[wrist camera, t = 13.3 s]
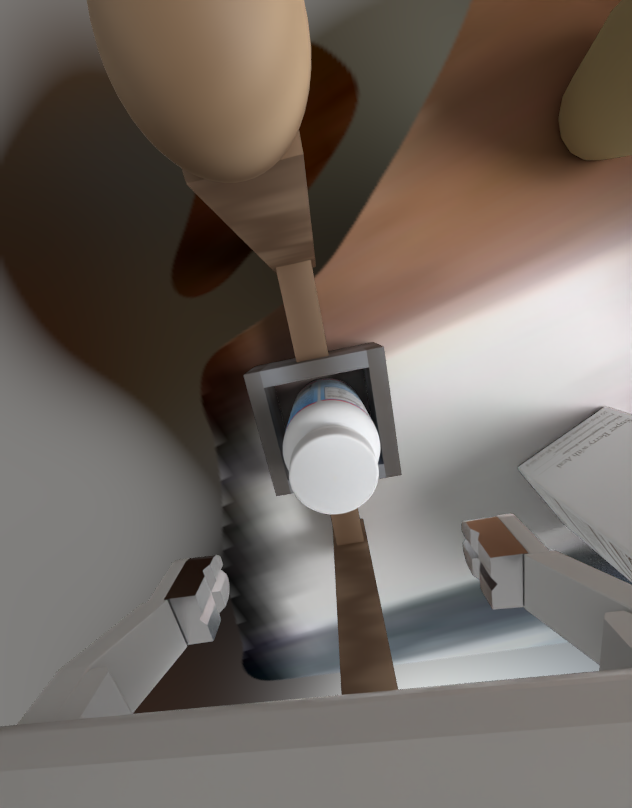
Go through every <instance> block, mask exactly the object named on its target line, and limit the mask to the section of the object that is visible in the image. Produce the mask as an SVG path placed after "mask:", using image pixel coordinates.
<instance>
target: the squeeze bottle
mask: <svg viewBox="0 0 632 808" xmlns="http://www.w3.org/2000/svg"><path fill="white" fill-rule="evenodd" d="M558 120H559V127H560V134H561V139H562V140H563V142H564V143H565V145H566V146H567V148H568V150H569V151H570V153H572V154H574V155H576V156H578V157H580V158H581V159H583V160H606V159H612V158H618V157H625V156H631V155H632V0H622V1H621V2H620V3H619V4H618V5H617V6H616V7H615V8H614V9H613V10H612V11H611V13H610V15H609V16H608V18H607V20H606V21H605V23H604V25H603V27H602V28H601V30H600V32H599V33H598V35H597V37H596V39H595V40H594V42H593V44H592V45H591V47H590V49H589V50H588V52H587V54H586V56H585V57H584V59H583V61H582V62H581V64H580V66H579V68H578V69H577V71H576V73H575V74H574V76H573V78H572V80H571V82H570V84H569V86H568V87H567V89H566V91H565V93H564V95H563V97H562V102H561V107H560V112H559V118H558Z"/></svg>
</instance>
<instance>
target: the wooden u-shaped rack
mask: <svg viewBox="0 0 632 808" xmlns="http://www.w3.org/2000/svg"><path fill="white" fill-rule="evenodd" d="M87 4H88V10H89V16H90V21H91V25H92V28H93V32H94V36H95V40H96V44H97V47H98V51H99V53H100V56H101V59H102V62H103V64H104V67H105V69H106V72H107V74H108V76H109V78H110V80H111V83H112V85H113V87H114V89H115V91H116V93H117V95H118V97H119V98H120V100H121V102H122V103H123V105H124V106H125V108H126V110H127V112H128V113H129V115H130V117H131V118H132V120H133V121H134V122H135V124H136V125H137V126H138V127H139V129H140V130H141V131H142V132H143V134H144V135H145V136H146V137H147V139H148V140H149V141H150V142H151V143H152V144H153V145H154V146H155V147H156V148H157V149H158V150H159V151H160V152H162V153H163V154H164V155H165V156H166V157H167V158H169V159H170V160H171V161H172V162H174V163H175V164H176V165H178V166H180V167H181V168H182V170H183V174H184V178H185V181H186V184H187V185H188V186H189V187H190V188H191V189H192V190H193V191H194V192H195V193H196V194H197V195H198V196H199V197H200V198H201V199H202V200H203V201H204V202H205V203H206V204H207V205H208V206H209V207H210V208H211V209H212V210H213V211H214V212H215V213H216V214H217V215H218V216H219V217H220V218H221V219H222V220H223V221H224V222H225V223H226V224H227V225H228V226H229V227H230V228H231V229H232V230H233V231H234V232H235V233H236V234H237V235H238V236H239V237H240V238H241V239H242V240H243V241H244V242H245V243H246V244H247V245H248V246H249V247H250V248H251V249H252V250H253V251H254V252H255V253H256V254H257V255H258V256H259V257H260V258H261V259H262V260H263V261H264V262H265V263H266V264H267V265H268V266H269V267H270V268H271V269H272V270H273V271H274V272H275V273H276V274H277V276H278V280H279V285H280V289H281V294H282V298H283V303H284V308H285V312H286V317H287V321H288V326H289V330H290V335H291V339H292V344H293V348H294V353H295V357H296V358H294V359H289V360H284V361H279V362H274V363H269V364H264V365H259V366H255V367H254V368H252V369H251V370H249V371H248V372H247V373H245V374H244V375H243V376H244V380H245V383H246V387H247V391H248V394H249V398H250V402H251V405H252V409H253V413H254V416H255V420H256V424H257V427H258V431H259V434H260V438H261V442H262V445H263V449H264V453H265V456H266V460H267V464H268V467H269V471H270V475H271V478H272V482H273V486H274V489H275V493H276V496H280V495H286V494H292V493H294V492H293V490H292V488H291V485H290V481H289V470H288V469H287V467H286V464H285V461H284V457H283V440H284V435H285V431H286V429H285V425H284V421H283V417H282V413H281V409H280V405H279V401H278V397H277V393H276V389H275V386H276V385H281V384H286V383H291V382H296V381H301V380H307V379H312V378H317V377H322V376H327V375H332V374H337V373H342V372H347V371H352V370H357V369H362V368H363V372H364V378H365V384H366V390H367V397H368V403H369V409H370V415H371V420H372V421H373V423H374V425H375V427H376V430H377V432H378V435H379V439H380V456H379V461H378V469H379V477H378V479H381V478H387V477H392V476H398V475H401V468H400V461H399V453H398V446H397V439H396V432H395V424H394V417H393V410H392V403H391V396H390V388H389V381H388V374H387V367H386V359H385V352H384V347H383V346H381V345H379V344H377V343H374V342H373V343H368V344H363V345H358V346H353V347H348V348H343V349H338V350H333V351H328V349H327V344H326V338H325V333H324V328H323V323H322V317H321V312H320V307H319V302H318V296H317V291H316V286H315V280H314V275H313V270H312V267H315V266H316V263H315V255H314V246H313V238H312V228H311V219H310V211H309V201H308V192H307V183H306V174H305V165H304V156H303V150H302V144H301V139H300V133H299V127H300V125H301V122H302V119H303V115H304V112H305V108H306V103H307V98H308V93H309V86H310V76H311V44H310V35H309V26H308V19H307V13H306V8H305V4H304V0H87ZM330 516H331V520H332V525H333V541H334V560H335V579H336V597H337V616H338V635H339V654H340V673H341V691H342V695H346V694H357V693H368V692H379V691H389V690H398V687H397V683H396V677H395V672H394V668H393V662H392V657H391V653H390V648H389V643H388V638H387V633H386V628H385V624H384V619H383V614H382V609H381V604H380V599H379V594H378V590H377V585H376V580H375V575H374V570H373V565H372V560H371V556H370V551H369V546H368V541H367V536H366V531H365V527H364V522H363V519H360V517H359V512H358V508H356V509H355V510H352V511H350V512H347V513H343V514H330Z"/></svg>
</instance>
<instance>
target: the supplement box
mask: <svg viewBox="0 0 632 808" xmlns="http://www.w3.org/2000/svg"><path fill="white" fill-rule="evenodd" d="M518 470H519V471H520V472H521V473H522V475H523V476H524V477H525V478H526V479H527V481H528V482H529V483H530V484H531V485H532V487H533V488H534V489H535V490H536V491H537V492H538V494H539V495H540V496H541V497H542V498H543V500H544V501H545V502H546V503H547V504H548V505H549V507H550V508H551V509H552V510H553V511H554V513H555V514H556V515H557V516H558V517H559V518H560V520H561V521H562V522H563V523H564V524H565V525H566V526H567V527H568V528H569V529H570V530H571V531H573V532H574V533H575V534H576V535H577V536H579V537H580V538H581V539H582V540H583V541H584V542H585V543H587V544H588V545H589V546H590V547H591V548H592V549H593V550H595V551H596V552H597V553H598V554H599V555H600V556H602V557H603V558H604V559H605V560H606V561H607V562H608V563H610V564H611V565H612V566H613V567H614V568H615V569H617V570H618V571H619V572H620V573H621V574H623V575H624V576H625V577H626V578H627V579H628V580H629V581H631V582H632V414H629V413H626V412H622V411H619V410H616V409H613V408H610V407H604V408H602V409H601V410H599V411H598V412H597V413H595V414H594V415H592V416H591V417H589V418H588V419H586V420H585V421H583V422H582V423H581V424H579V425H578V426H576V427H575V428H573V429H572V430H570V431H569V432H568V433H566V434H565V435H563V436H562V437H560V438H559V439H557V440H556V441H555V442H553V443H552V444H550V445H549V446H547V447H546V448H544V449H543V450H542V451H540V452H539V453H537V454H536V455H534V456H533V457H531V458H530V459H529V460H527V461H526V462H524V463H523V464H521V465H520V466H519V467H518Z"/></svg>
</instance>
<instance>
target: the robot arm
mask: <svg viewBox="0 0 632 808" xmlns="http://www.w3.org/2000/svg"><path fill="white" fill-rule="evenodd" d="M461 528H462V533H463V534H464V536H465V538H466V539H465V540H464V542H463V551H464V555H465V559H466V562H467V564H468V567H469V569H470V571H471V573H472V574H473V576H475V577H476V578H478V579H479V580H480V588H481V590H482V592H483V594H484V595H485V597H486V599H487V601H488V602H489V604H490V606H491V608H492V609H505V608H517V607H525V609H526V610H527V611H528V612H530V613H531V614H532V615H534V616H535V617H536V618H538V619H539V620H540V621H542V622H543V623H544V624H546V625H547V626H548V627H550V628H551V629H552V630H554V631H555V632H556V633H558V634H559V635H560V636H562V637H563V638H564V639H565V640H567V641H568V642H569V643H571V644H572V645H573V646H575V647H576V648H577V649H579V650H580V651H582V652H583V653H584V654H585V655H587V656H588V657H589V658H591V659H592V660H593V661H595V662H596V663H597V664H599V665H600V668H599V671H593V672H582V673H572V674H561V675H550V676H539V677H528V678H518V679H508V680H507V679H506V680H496V681H485V682H475V683H464V684H455V685H454V684H453V685H442V686H433V687H421V688H410V689H400V690H389V691H379V692H368V693H357V694H346V695H335V696H325V697H313V698H302V699H291V700H282V701H281V700H280V701H270V702H259V703H249V704H237V705H226V706H216V707H205V708H194V709H184V710H172V711H162V712H151V713H140V714H133V712H134V711H135V710H136V709H137V707H138V706H139V705H140V704H141V702H142V701H143V700H144V699H145V697H146V696H147V695H148V694H149V693H150V692H151V690H152V689H153V688H154V687H155V685H156V684H157V683H158V682H159V681H160V679H161V678H162V677H163V675H164V674H165V673H166V672H167V671H168V670H169V668H170V667H171V666H172V664H173V663H174V662H175V661H176V660H177V659H178V657H179V656H180V655H181V654H182V652H183V651H184V650H185V649H186V648H187V645H190V644H197V643H204V642H210V641H214V638H215V635H216V632H217V630H218V627H219V624H220V621H221V618H220V615H219V613H220V612H221V611H222V609H223V608H224V607H225V606H226V604H227V600H228V598H229V588H230V587H229V580H228V577H227V574H226V573H224V572H223V571H222V570H221V568H222V565H223V563H222V560H221V558H220V556H218V555H213V556H204V557H195V558H189V559H180V560H176V561H174V562H173V563H172V564H171V566H170V567H169V569H168V570H167V572H166V574H165V575H164V577H163V578H162V580H161V581H160V583H159V585H158V586H157V588H156V589H155V591H154V592H153V594H152V596H151V597H150V599H149V600H148V602H147V603H142V604H141V605H140V606H138V607H137V608H136V609H135V610H133V611H132V612H131V613H130V614H128V615H127V616H126V617H124V618H123V619H122V620H121V621H119V622H118V623H117V624H116V625H115V626H113V627H112V628H111V629H110V630H108V631H107V632H106V633H105V634H103V635H102V636H101V637H99V638H98V639H97V640H96V641H94V642H93V643H92V644H91V645H89V646H88V647H87V648H86V649H85V650H83V651H82V652H81V653H79V654H78V655H77V656H76V657H74V658H73V659H72V660H71V661H69V662H68V663H67V664H66V665H64V666H63V667H62V668H61V669H59V670H58V671H57V673H56V674H55V675H54V676H53V678H52V679H51V680H50V682H49V683H48V684H47V686H46V687H45V688H44V690H43V691H42V692H41V694H40V695H39V696H38V697H37V699H36V700H35V701H34V703H33V704H32V705H31V707H30V708H29V709H28V711H27V712H26V713H25V714H24V716H23V717H22V719H21V720H20V721H19V722H18V724H17V725H11V726H1V727H0V808H632V585H631V584H629V583H626V582H624V581H622V580H620V579H618V578H615V577H613V576H611V575H609V574H606V573H604V572H602V571H600V570H598V569H595V568H593V567H591V566H589V565H586V564H584V563H582V562H580V561H578V560H575V559H573V558H571V557H569V556H566V555H564V554H562V553H560V552H558V551H549V550H548V549H547V548H546V547H545V545H544V544H543V543H542V542H541V541H540V540H539V539H538V538H537V537H536V536H535V535H534V534H533V533H532V532H531V531H530V530H529V529H528V528H527V527H526V526H525V525H524V524H523V523H522V522H521V521H520V520H519V519H518V518H517V517H516V516H515V515H514V514H512V513H508V514H502V515H496V516H492V517H485V518H478V519H471V520H464V521H462V524H461Z"/></svg>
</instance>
